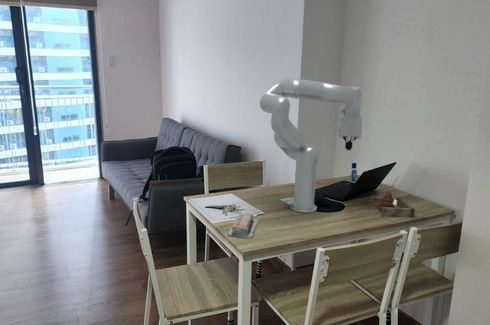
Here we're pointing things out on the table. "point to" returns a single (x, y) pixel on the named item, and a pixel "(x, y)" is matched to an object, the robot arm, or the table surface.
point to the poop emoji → (387, 201)
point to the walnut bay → (403, 211)
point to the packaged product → (243, 226)
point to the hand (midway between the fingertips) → (348, 149)
